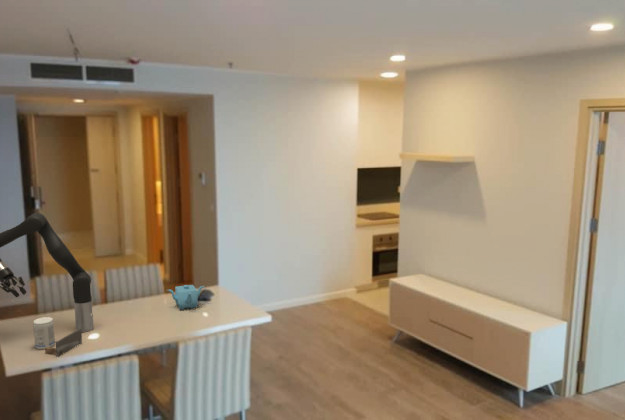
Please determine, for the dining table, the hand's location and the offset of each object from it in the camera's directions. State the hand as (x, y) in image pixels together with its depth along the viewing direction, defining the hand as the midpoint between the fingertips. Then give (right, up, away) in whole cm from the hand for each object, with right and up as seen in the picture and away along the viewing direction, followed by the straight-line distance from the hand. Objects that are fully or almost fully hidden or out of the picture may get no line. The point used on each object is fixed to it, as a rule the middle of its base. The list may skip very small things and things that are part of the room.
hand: (21, 294), depth 281 cm
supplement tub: (+14, -27, -3) cm, 31 cm away
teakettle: (+75, -19, +62) cm, 99 cm away
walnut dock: (+25, -28, -6) cm, 38 cm away
